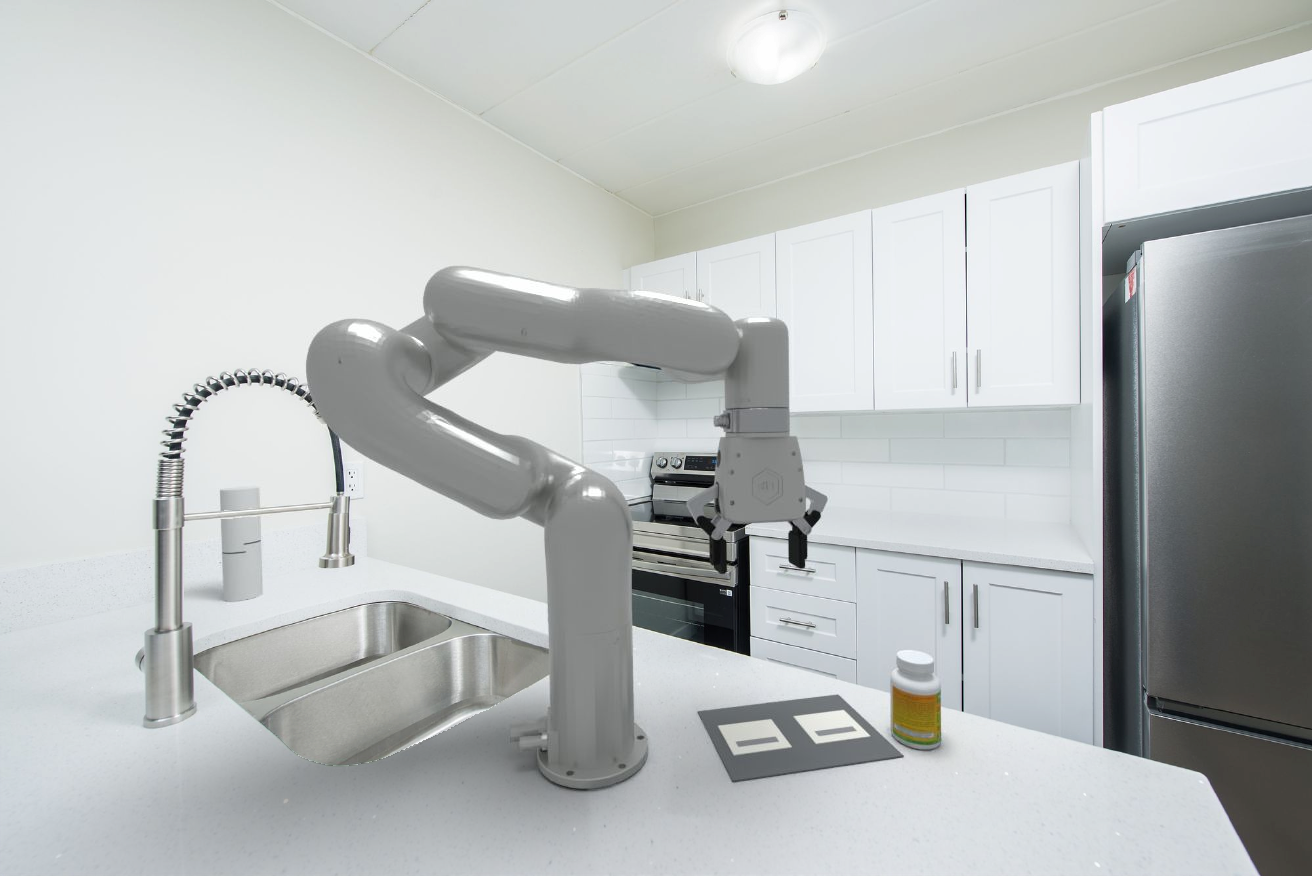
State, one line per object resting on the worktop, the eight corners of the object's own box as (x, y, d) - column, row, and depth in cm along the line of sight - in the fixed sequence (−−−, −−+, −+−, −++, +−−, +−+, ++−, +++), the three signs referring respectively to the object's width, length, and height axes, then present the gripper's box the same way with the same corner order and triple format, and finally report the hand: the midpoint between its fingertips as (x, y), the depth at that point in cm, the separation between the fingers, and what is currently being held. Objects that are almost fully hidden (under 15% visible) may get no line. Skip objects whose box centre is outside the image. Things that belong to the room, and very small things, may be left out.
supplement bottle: (947, 753, 60) (947, 668, 60) (896, 748, 61) (896, 664, 61) (933, 727, 65) (932, 648, 65) (886, 723, 66) (885, 645, 66)
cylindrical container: (268, 594, 124) (264, 487, 123) (231, 603, 118) (227, 490, 117) (254, 590, 128) (251, 486, 127) (218, 598, 122) (214, 489, 121)
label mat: (732, 782, 56) (732, 779, 56) (697, 712, 70) (697, 710, 70) (903, 757, 60) (903, 754, 60) (838, 695, 73) (838, 693, 73)
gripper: (694, 425, 58) (696, 582, 58) (840, 423, 61) (842, 572, 61) (678, 426, 65) (680, 565, 66) (810, 424, 68) (811, 556, 69)
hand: (758, 568), depth 63 cm, fingers open, 9 cm apart
